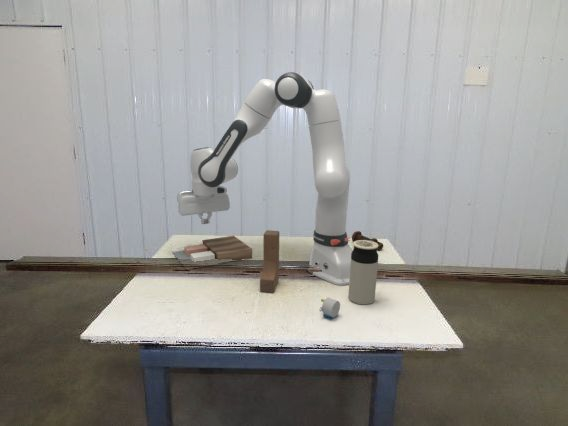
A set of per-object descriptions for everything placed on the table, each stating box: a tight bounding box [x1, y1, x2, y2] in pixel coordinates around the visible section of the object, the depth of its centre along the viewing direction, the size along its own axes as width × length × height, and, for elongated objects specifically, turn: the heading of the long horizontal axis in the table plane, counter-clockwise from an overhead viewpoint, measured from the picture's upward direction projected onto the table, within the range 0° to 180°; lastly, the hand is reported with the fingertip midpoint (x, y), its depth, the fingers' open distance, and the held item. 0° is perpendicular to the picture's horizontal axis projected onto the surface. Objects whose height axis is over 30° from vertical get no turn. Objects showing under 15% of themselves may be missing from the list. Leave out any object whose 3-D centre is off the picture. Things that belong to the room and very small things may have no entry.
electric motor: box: [319, 297, 341, 320], centre depth 103 cm, size 7×5×5 cm
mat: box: [172, 249, 190, 260], centre depth 144 cm, size 20×12×1 cm, turn 30°
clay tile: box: [183, 244, 207, 257], centre depth 148 cm, size 5×8×2 cm, turn 120°
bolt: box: [351, 230, 384, 251], centre depth 163 cm, size 6×5×15 cm
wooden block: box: [259, 229, 280, 293], centre depth 119 cm, size 9×4×18 cm, turn 170°
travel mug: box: [348, 240, 379, 305], centre depth 112 cm, size 8×8×18 cm
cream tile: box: [190, 251, 215, 262], centre depth 140 cm, size 5×8×2 cm, turn 120°
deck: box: [202, 235, 253, 261], centre depth 150 cm, size 19×14×4 cm
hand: (205, 223), depth 147 cm, fingers closed
